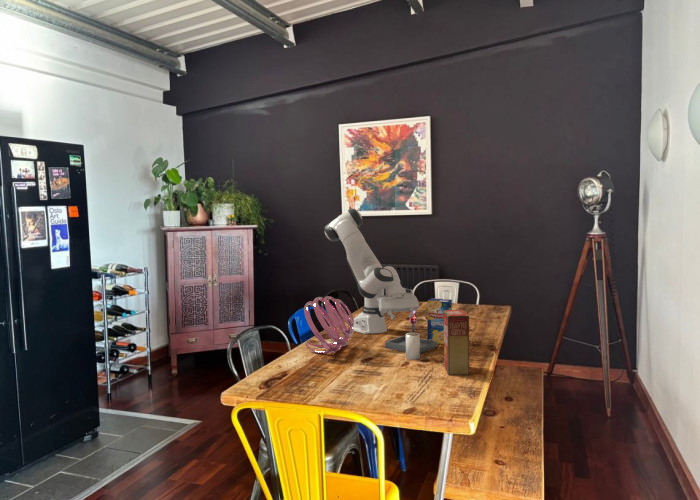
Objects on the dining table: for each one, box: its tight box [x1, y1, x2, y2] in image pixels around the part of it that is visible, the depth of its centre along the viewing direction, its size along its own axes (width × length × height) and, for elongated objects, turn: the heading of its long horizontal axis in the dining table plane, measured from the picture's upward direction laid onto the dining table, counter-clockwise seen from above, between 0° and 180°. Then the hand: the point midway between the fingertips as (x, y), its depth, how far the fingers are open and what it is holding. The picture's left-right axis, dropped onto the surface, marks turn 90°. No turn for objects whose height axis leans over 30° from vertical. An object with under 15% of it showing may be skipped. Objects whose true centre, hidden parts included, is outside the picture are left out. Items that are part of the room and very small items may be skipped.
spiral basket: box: [303, 295, 354, 355], centre depth 253 cm, size 28×28×27 cm
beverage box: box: [426, 297, 453, 345], centre depth 266 cm, size 7×11×22 cm, turn 62°
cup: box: [405, 332, 421, 361], centre depth 240 cm, size 6×6×11 cm
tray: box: [384, 335, 438, 355], centre depth 257 cm, size 20×16×3 cm
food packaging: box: [443, 309, 470, 376], centre depth 219 cm, size 13×9×25 cm
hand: (402, 318), depth 250 cm, fingers open, 8 cm apart
